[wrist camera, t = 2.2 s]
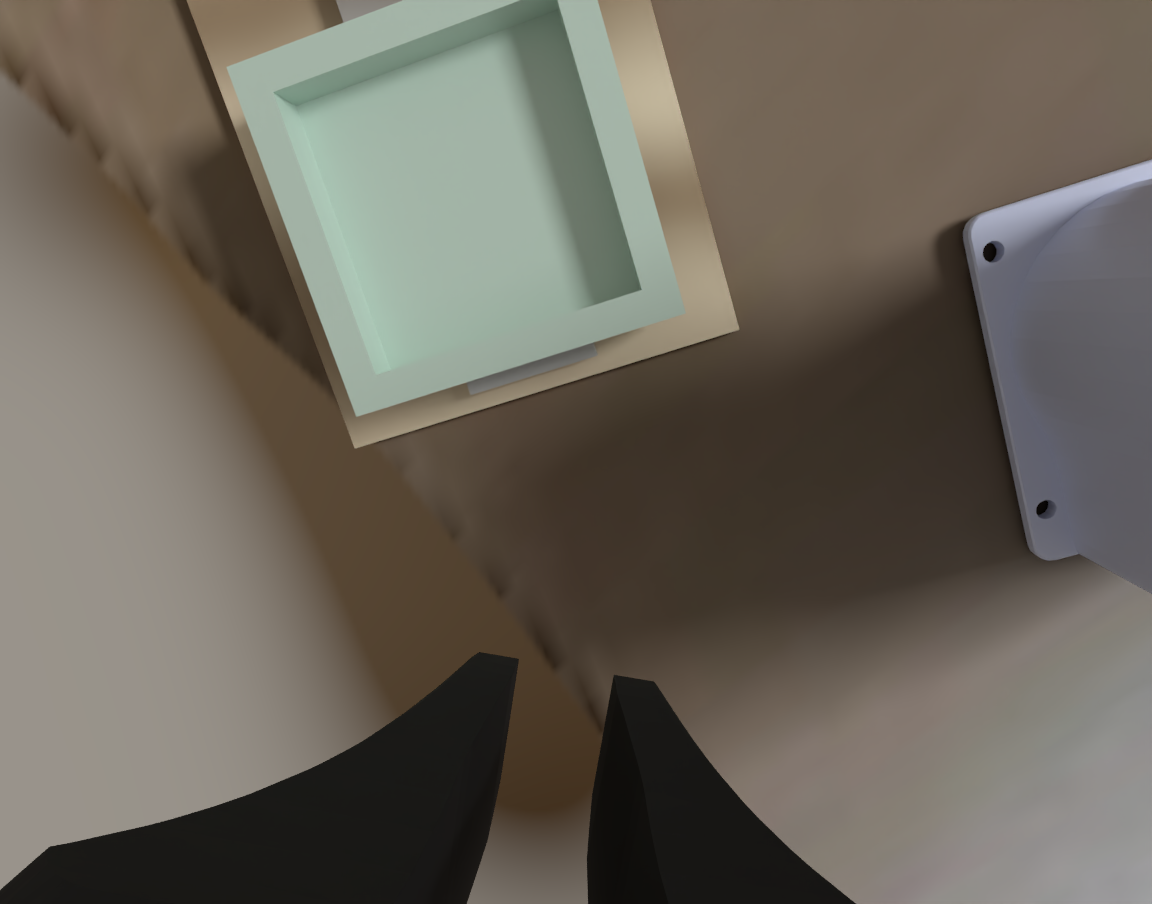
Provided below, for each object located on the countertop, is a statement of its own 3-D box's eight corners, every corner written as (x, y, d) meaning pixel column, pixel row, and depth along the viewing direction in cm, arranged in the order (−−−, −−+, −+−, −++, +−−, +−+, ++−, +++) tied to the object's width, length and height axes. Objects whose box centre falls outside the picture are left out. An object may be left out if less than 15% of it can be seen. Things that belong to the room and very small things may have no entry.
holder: (679, 312, 19) (685, 313, 17) (380, 405, 20) (356, 417, 18) (582, -28, 17) (578, -66, 15) (266, 90, 18) (226, 67, 16)
